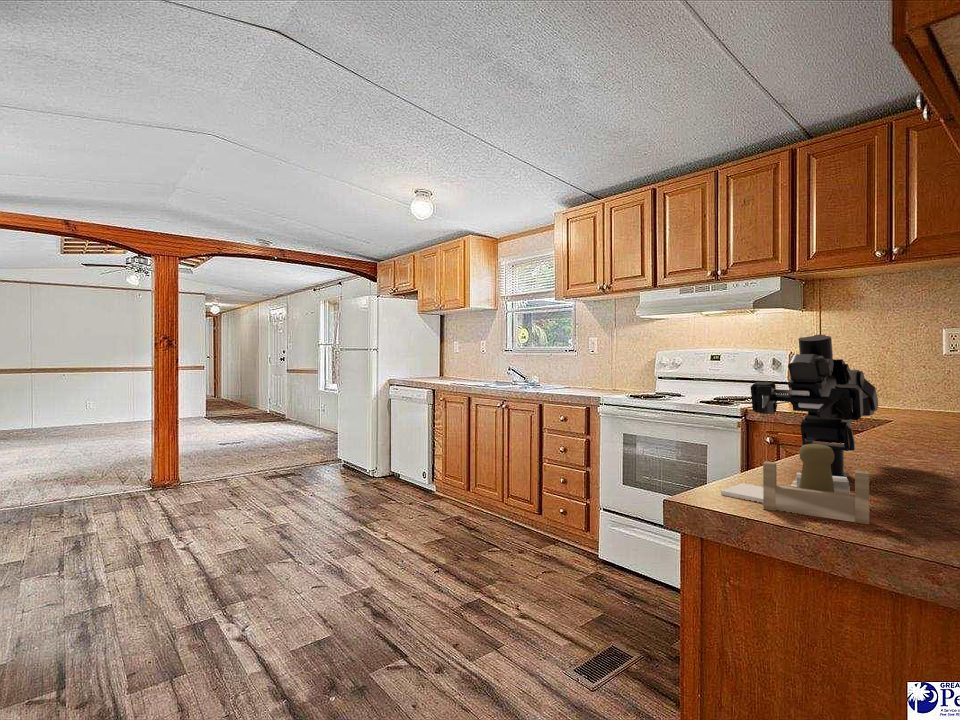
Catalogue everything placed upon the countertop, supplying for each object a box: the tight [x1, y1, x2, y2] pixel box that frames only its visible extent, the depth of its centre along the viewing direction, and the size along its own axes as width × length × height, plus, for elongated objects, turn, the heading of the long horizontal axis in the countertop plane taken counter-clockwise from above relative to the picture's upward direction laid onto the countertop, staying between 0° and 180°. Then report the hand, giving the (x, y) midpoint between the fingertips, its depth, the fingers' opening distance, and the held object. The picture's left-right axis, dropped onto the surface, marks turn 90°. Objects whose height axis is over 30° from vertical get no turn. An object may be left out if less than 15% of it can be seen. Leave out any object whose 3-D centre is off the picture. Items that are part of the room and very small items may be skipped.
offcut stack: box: [789, 472, 851, 494], centre depth 98 cm, size 5×9×4 cm, turn 53°
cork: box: [798, 444, 835, 493], centre depth 92 cm, size 6×6×11 cm
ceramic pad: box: [720, 483, 763, 504], centre depth 100 cm, size 8×8×1 cm
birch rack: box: [762, 460, 870, 525], centre depth 88 cm, size 2×15×8 cm, turn 54°
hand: (790, 413), depth 97 cm, fingers open, 9 cm apart
